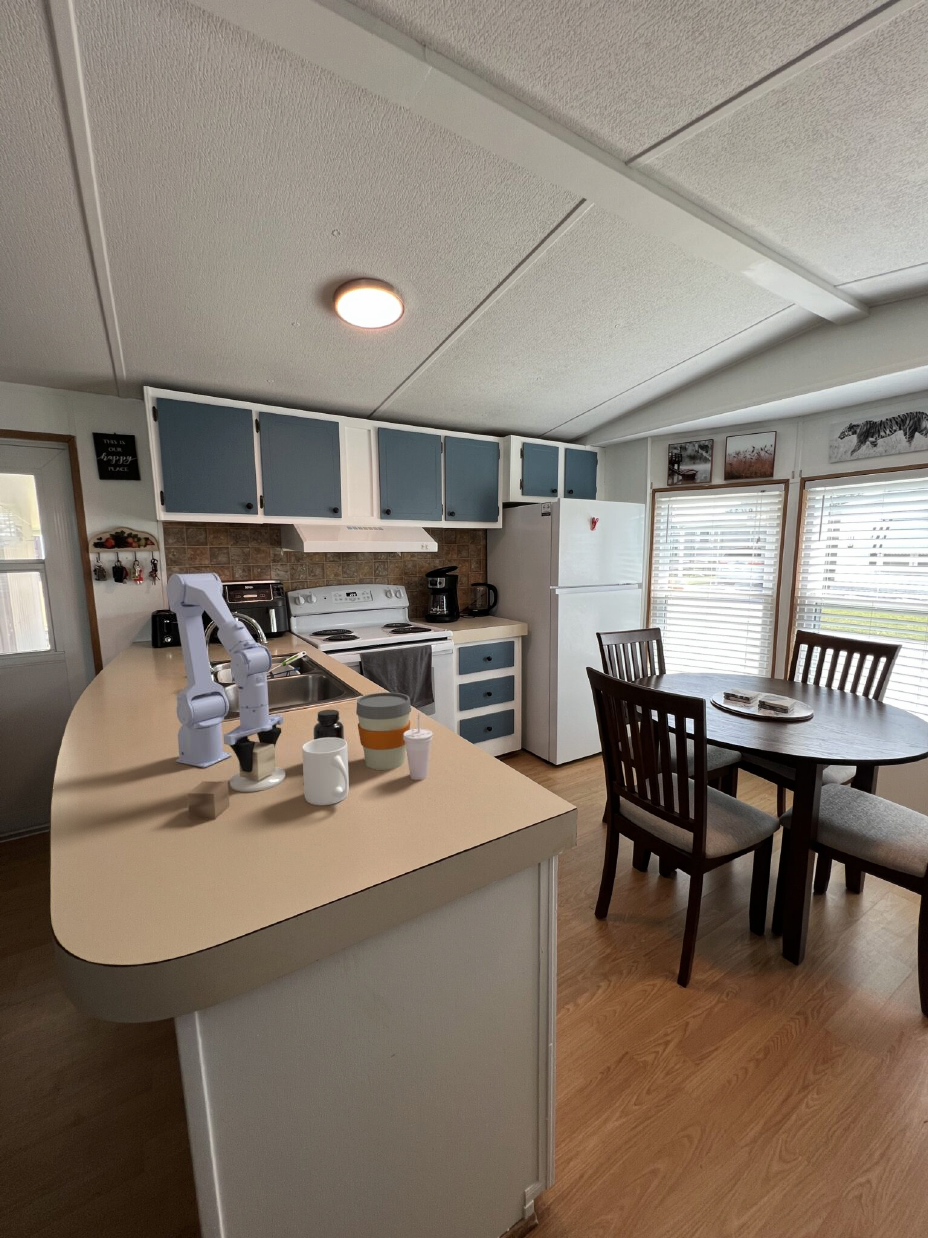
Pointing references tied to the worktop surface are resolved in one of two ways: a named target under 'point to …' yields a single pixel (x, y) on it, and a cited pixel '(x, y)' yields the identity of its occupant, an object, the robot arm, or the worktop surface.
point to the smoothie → (418, 751)
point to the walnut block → (208, 800)
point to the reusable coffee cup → (383, 728)
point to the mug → (325, 771)
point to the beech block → (261, 761)
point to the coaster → (257, 781)
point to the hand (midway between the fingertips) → (257, 766)
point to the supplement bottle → (328, 725)
